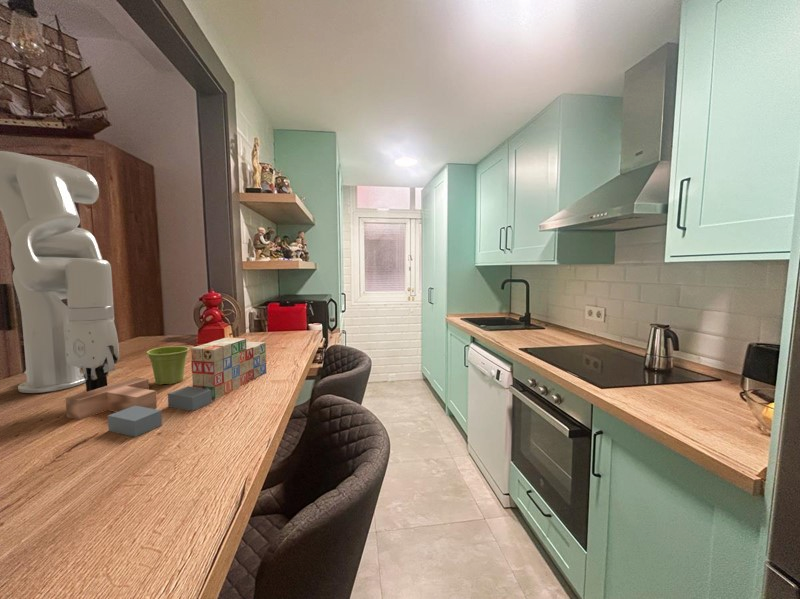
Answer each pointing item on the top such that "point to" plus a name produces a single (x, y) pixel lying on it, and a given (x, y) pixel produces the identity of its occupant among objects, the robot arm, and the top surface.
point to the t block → (112, 398)
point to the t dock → (156, 411)
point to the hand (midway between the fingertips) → (97, 394)
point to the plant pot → (168, 363)
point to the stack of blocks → (227, 364)
